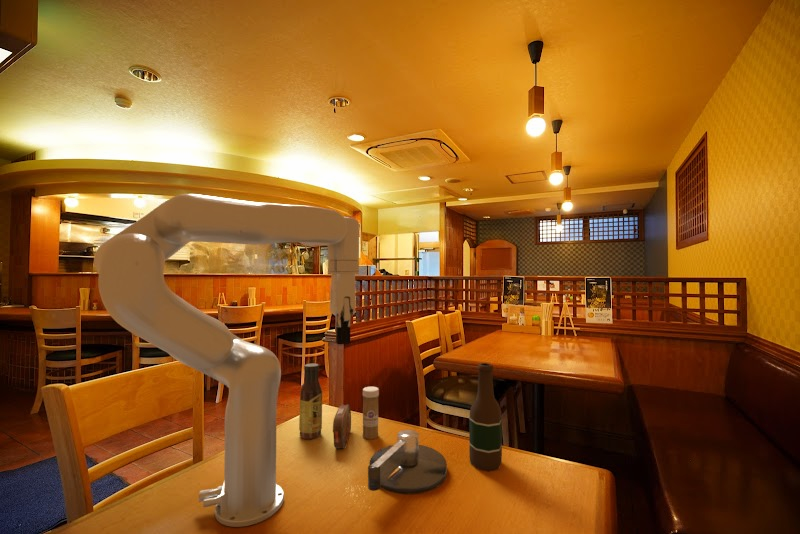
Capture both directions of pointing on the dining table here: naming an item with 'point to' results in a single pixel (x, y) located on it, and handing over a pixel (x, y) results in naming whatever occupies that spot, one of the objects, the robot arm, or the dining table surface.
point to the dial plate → (416, 472)
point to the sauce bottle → (310, 404)
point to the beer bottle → (485, 424)
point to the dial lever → (394, 458)
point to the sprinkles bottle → (370, 412)
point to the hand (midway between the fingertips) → (343, 343)
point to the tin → (342, 426)
